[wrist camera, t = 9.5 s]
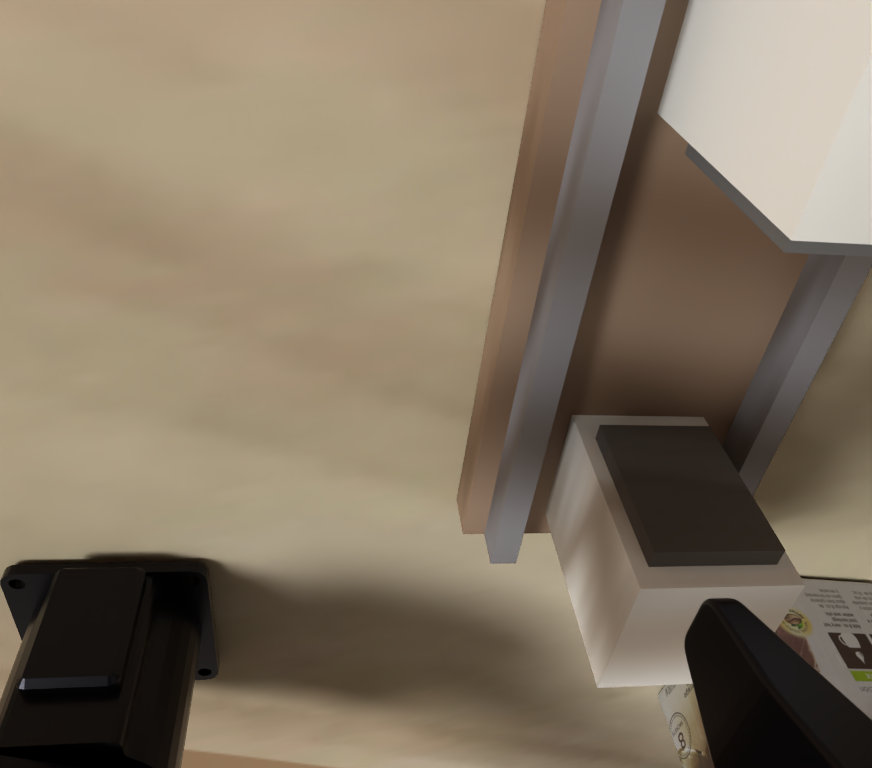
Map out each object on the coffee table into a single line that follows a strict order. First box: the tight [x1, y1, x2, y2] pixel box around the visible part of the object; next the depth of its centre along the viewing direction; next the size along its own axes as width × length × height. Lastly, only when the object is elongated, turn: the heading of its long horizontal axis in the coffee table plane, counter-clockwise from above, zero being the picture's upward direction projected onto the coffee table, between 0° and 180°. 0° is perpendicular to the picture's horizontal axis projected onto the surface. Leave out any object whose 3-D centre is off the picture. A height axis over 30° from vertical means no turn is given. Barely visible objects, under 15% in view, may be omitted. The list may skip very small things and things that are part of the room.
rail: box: [457, 0, 872, 688], centre depth 16 cm, size 21×9×8 cm, turn 174°
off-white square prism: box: [658, 0, 872, 257], centre depth 13 cm, size 4×4×6 cm
